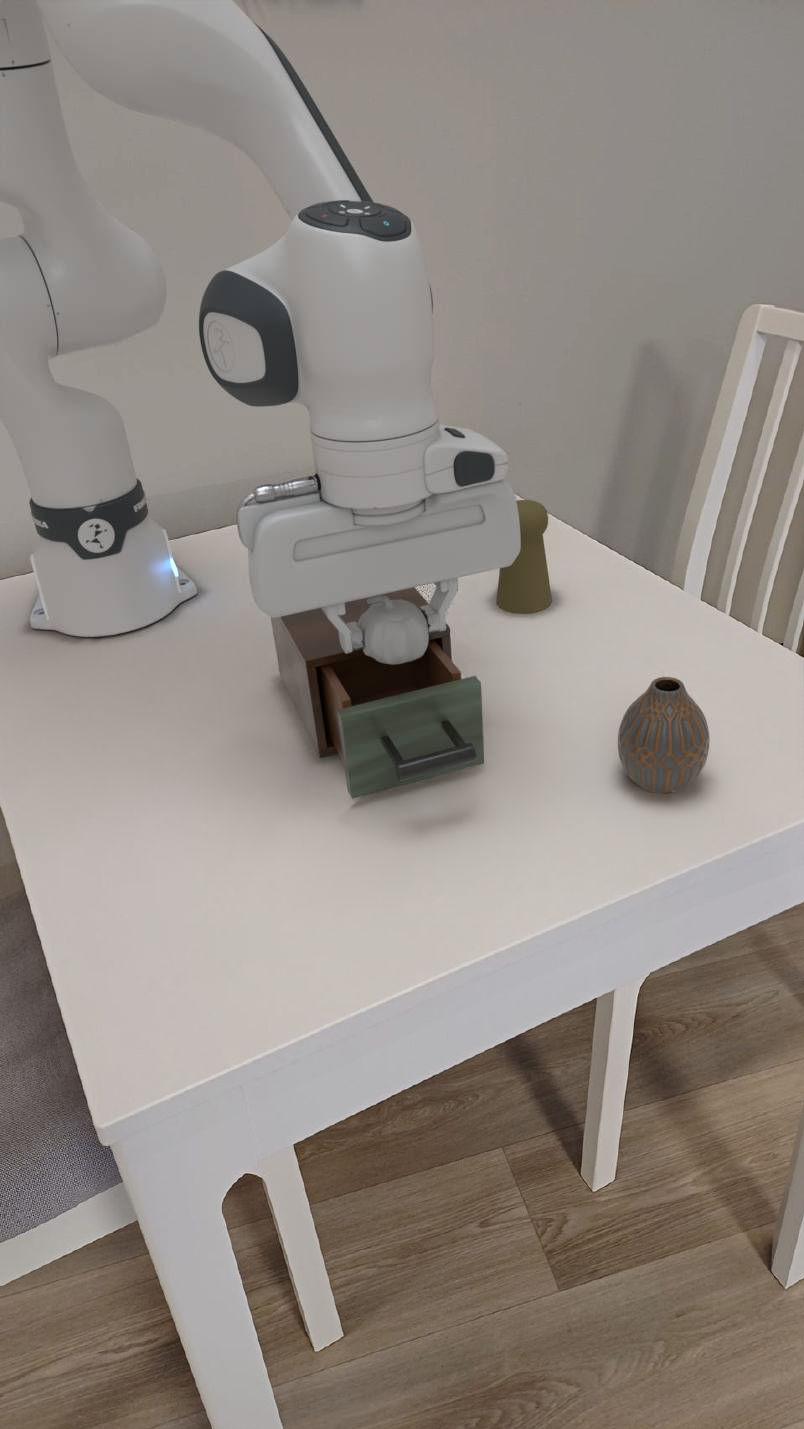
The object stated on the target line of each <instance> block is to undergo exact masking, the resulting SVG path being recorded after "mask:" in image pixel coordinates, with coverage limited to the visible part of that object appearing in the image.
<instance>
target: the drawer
mask: <svg viewBox="0 0 804 1429" xmlns="http://www.w3.org/2000/svg"><path fill="white" fill-rule="evenodd" d="M316 672H317V679H318V686H319V693H320V700H321V707H322V714H323V721H324V727H325V729H326V731H327V733H328V735H329V737H330V739H331V741H332V742H333V744H334V746H335V748H336V750H337V752H338V753H337V754H338V756H339V758H340V759H341V761H342V764H343V765H344V766H343V767H344V771H345V772H344V773H345V780H346V787H347V788H346V789H347V792H348V794H349V796H350V798H351V800H356V799H359V798H363V797H367V796H369V795H373V794H377V793H381V792H385V791H388V790H392V789H395V788H400V787H403V786H407V785H410V784H411V785H412V784H414V783H418V782H421V781H425V780H428V779H434V778H436V777H440V776H444V775H447V774H451V773H455V772H458V771H462V770H466V769H470V768H474V767H477V766H480V765H484V764H485V745H484V721H483V696H482V682H481V680H480V679H479V678H478V677H477V676H476V675H472V676H468V677H465V678H462V672H461V670H460V669H459V668H458V667H457V665H456V664H455V663H454V662H453V660H452V661H451V660H450V658H449V657H448V656H447V655H446V654H445V652H444V651H443V650H442V649H441V648H440V646H439V645H438V644H437V643H436V642H435V640H434V639H433V640H429V641H428V646H427V649H426V651H425V653H424V654H423V655H422V656H421V657H420V658H418V659H415V660H413V661H410V662H405V663H402V664H394V665H392V664H385V663H381V662H378V661H377V660H376V659H374V658H372V657H370V656H367V655H365V656H361V657H357V658H353V659H348V660H344V661H340V662H336V663H331V664H327V665H323V666H319V667H316Z"/></svg>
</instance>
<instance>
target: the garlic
mask: <svg viewBox="0 0 804 1429" xmlns="http://www.w3.org/2000/svg"><path fill="white" fill-rule="evenodd" d="M377 602H380V603H377ZM367 603H368V604H372V605H371V606H370V607H369V609H368V610H367V611H366V612H365V613H364V614H363V615H362V616H361V617H360V619H359V622H358V627H360V628H361V629H362V631H363V640H362V642H363V643H364V649H363V652H364V653H365V654H366V655H367V656H370V657H372V658H374V659H376V660H377V661H378V662H381V663H385V664H392V665H394V664H402V663H405V662H410V661H413V660H415V659H418V658H420V657H421V656H422V655H423V654H424V653H425V651H426V649H427V646H428V641H429V635H428V624H427V620H426V618H425V616H424V615H423V613H422V612H421V611H420V610H419V609H418V608H417V607H416V606H415V605H414V604H413V603H411V602H408V601H406V600H402V599H399V600H390V599H389V598H388V597H387V596H385V595H377V596H373V597H369V598H368V599H367ZM373 603H375V604H373Z"/></svg>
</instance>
